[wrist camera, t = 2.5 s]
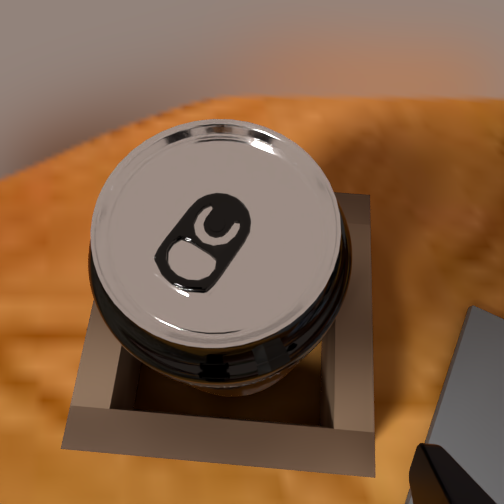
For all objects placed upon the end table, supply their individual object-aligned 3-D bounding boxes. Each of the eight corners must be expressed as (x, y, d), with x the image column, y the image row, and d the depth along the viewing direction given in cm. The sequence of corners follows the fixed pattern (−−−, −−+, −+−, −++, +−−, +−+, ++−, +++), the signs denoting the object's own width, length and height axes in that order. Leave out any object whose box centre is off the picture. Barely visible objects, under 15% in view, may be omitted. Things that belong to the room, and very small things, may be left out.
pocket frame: (353, 465, 18) (375, 477, 15) (94, 442, 19) (60, 448, 15) (352, 226, 22) (370, 194, 19) (139, 210, 23) (121, 176, 19)
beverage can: (136, 345, 20) (-7, 264, 9) (217, 235, 22) (182, 57, 11) (256, 428, 19) (264, 457, 8) (330, 304, 21) (421, 181, 10)
